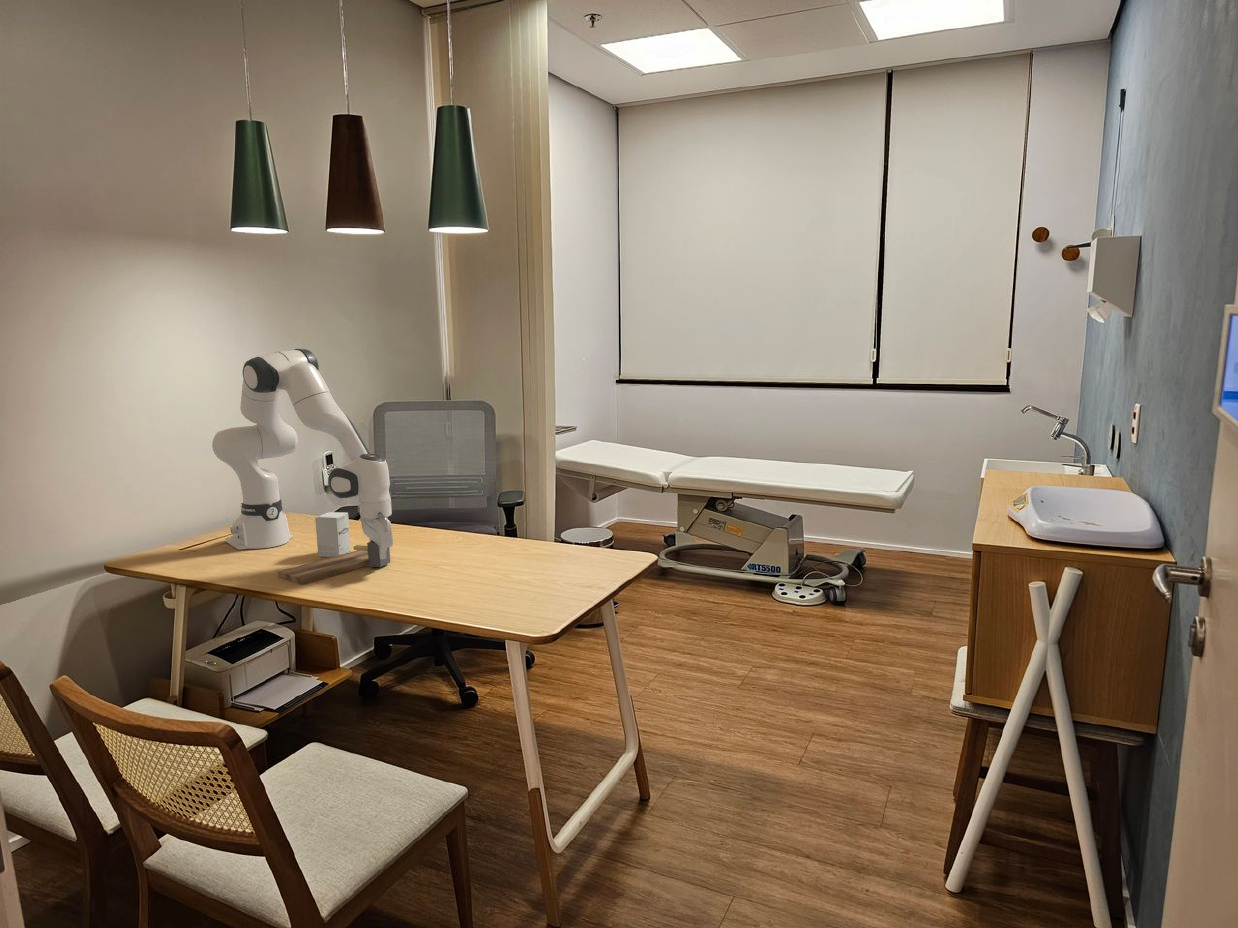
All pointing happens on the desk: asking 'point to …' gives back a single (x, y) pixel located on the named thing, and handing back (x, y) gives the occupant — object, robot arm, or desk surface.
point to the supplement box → (332, 534)
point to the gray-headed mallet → (374, 554)
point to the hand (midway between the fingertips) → (379, 555)
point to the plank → (326, 567)
